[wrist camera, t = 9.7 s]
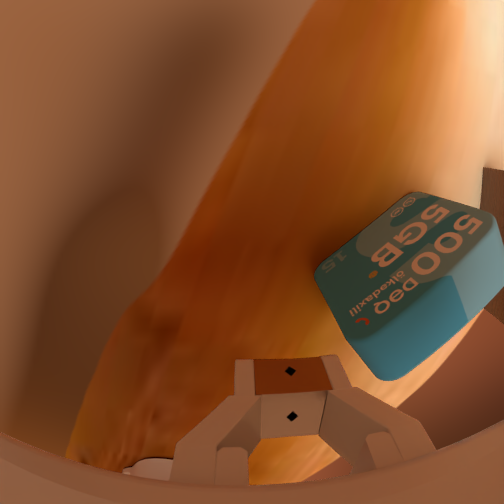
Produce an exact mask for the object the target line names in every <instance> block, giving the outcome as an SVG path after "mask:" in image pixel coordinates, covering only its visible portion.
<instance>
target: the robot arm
mask: <svg viewBox="0 0 504 504" xmlns="http://www.w3.org/2000/svg"><path fill="white" fill-rule="evenodd" d="M316 434H319V436H320V437H321V438H322V439H323V440H324V441H325V442H326V443H327V444H328V445H329V446H331V447H332V448H333V449H334V450H335V451H336V452H337V453H338V454H339V455H340V456H342V457H343V458H344V459H345V460H346V461H347V462H348V463H349V464H351V465H352V466H353V469H352V470H351V473H350V475H346V476H340V477H335V478H328V479H322V480H314V481H307V482H297V483H286V484H272V485H249V479H248V457H249V456H250V455H251V453H252V452H253V450H254V449H255V447H256V446H257V444H258V443H259V442H260V439H263V438H277V437H288V436H303V435H316ZM0 504H504V420H502V421H501V422H499V423H497V424H495V425H493V426H491V427H489V428H487V429H485V430H483V431H481V432H479V433H477V434H475V435H472V436H470V437H468V438H466V439H463V440H461V441H459V442H456V443H454V444H452V445H449V446H447V447H444V448H441V449H439V450H436V449H435V447H434V445H433V444H432V442H431V440H430V438H429V437H428V435H427V433H426V431H425V430H424V428H423V426H422V425H421V423H420V421H418V420H416V419H414V418H412V417H410V416H409V415H407V414H405V413H403V412H401V411H399V410H397V409H395V408H394V407H392V406H390V405H388V404H386V403H384V402H383V401H381V400H379V399H377V398H375V397H374V396H372V395H370V394H368V393H366V392H365V391H363V390H361V389H359V388H358V387H353V388H352V386H351V384H350V382H349V380H348V377H347V375H346V373H345V371H344V369H343V367H342V365H341V363H340V360H339V358H338V356H337V355H327V356H319V357H311V358H297V359H253V360H252V359H236V361H235V381H234V396H228V397H227V398H226V399H225V400H224V401H223V402H222V403H221V404H220V405H219V406H218V407H216V408H215V409H214V410H213V411H212V412H211V413H210V414H209V415H208V416H207V417H206V418H205V419H203V420H202V421H201V422H200V423H199V424H198V425H197V426H196V427H195V428H193V429H192V430H191V431H190V432H189V433H188V434H187V435H186V436H184V437H183V438H182V439H181V440H180V441H179V442H177V444H176V448H175V453H174V458H173V460H170V459H159V458H152V459H144V460H141V461H138V462H137V463H136V464H135V465H134V466H133V467H129V468H125V469H123V472H122V473H118V472H113V471H109V470H105V469H101V468H97V467H93V466H89V465H86V464H82V463H79V462H76V461H72V460H69V459H66V458H63V457H60V456H57V455H54V454H51V453H49V452H46V451H43V450H41V449H38V448H35V447H33V446H30V445H28V444H25V443H23V442H21V441H18V440H16V439H14V438H12V437H10V436H8V435H5V434H3V433H1V432H0Z"/></svg>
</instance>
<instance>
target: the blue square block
mask: <svg viewBox="0 0 504 504" xmlns="http://www.w3.org/2000/svg"><path fill="white" fill-rule="evenodd" d="M314 279H315V281H316V283H317V285H318V286H319V288H320V290H321V292H322V294H323V296H324V298H325V300H326V302H327V304H328V305H329V307H330V309H331V311H332V313H333V315H334V317H335V319H336V321H337V323H338V325H339V327H340V329H341V331H342V333H343V335H344V337H345V338H346V340H347V341H348V343H349V344H350V345H351V346H352V347H353V349H354V350H355V351H356V352H357V354H358V355H359V356H360V357H361V359H362V360H363V361H364V363H365V364H366V365H367V366H368V368H369V369H370V370H371V371H372V373H373V374H374V375H375V376H376V377H377V378H378V379H380V380H383V381H393V380H397V379H399V378H401V377H403V376H405V375H406V374H407V373H409V372H410V371H411V370H413V369H414V368H415V367H417V366H418V365H419V364H421V363H422V362H423V361H424V360H426V359H427V358H428V357H429V356H431V355H432V354H433V353H434V352H436V351H437V350H438V349H439V348H440V347H442V346H443V345H444V344H445V343H446V342H447V341H449V340H450V339H451V338H452V337H453V336H454V335H455V334H456V333H458V332H459V331H460V330H461V329H462V328H463V327H464V326H465V325H466V324H467V323H468V322H469V321H471V320H472V319H473V318H474V317H475V316H476V315H477V314H478V313H479V312H480V311H481V310H482V309H483V308H484V307H485V306H486V305H487V304H488V303H489V302H490V301H491V300H492V299H493V297H494V296H495V295H496V294H497V293H498V292H499V291H500V290H501V289H502V288H503V287H504V245H503V242H502V238H501V234H500V231H499V228H498V224H497V221H496V219H495V217H494V216H493V215H492V214H491V213H489V212H486V211H483V210H480V209H477V208H474V207H471V206H467V205H464V204H461V203H457V202H454V201H451V200H447V199H444V198H440V197H437V196H433V195H429V194H426V193H422V192H414V193H411V194H408V195H406V196H404V197H403V198H401V199H400V200H399V201H398V202H397V203H395V204H394V205H393V206H392V207H391V208H389V209H388V210H387V211H386V212H385V213H383V214H382V215H381V216H380V217H378V218H377V219H376V220H375V221H374V222H372V223H371V224H370V225H369V226H367V227H366V228H365V229H364V230H362V231H361V232H360V233H359V234H357V235H356V236H355V237H354V238H352V239H351V240H350V241H349V242H347V243H346V244H345V245H343V246H342V247H341V248H340V249H338V250H337V251H336V252H335V253H333V254H332V255H331V256H329V257H328V258H327V259H326V260H324V261H323V262H322V263H321V264H320V265H319V266H318V268H317V269H316V271H315V274H314Z"/></svg>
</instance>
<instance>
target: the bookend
mask: <svg viewBox="0 0 504 504" xmlns="http://www.w3.org/2000/svg"><path fill="white" fill-rule="evenodd" d="M480 210H483V211H486V212H489V213H491V214H492V215H493V216H494V217H495V219H496V221H497V224H498V228H499V231H500V234H501V238H502V242H503V245H504V171H503V170H497V169H491V168H484V167H483V182H482V195H481V206H480ZM484 309H486V310H487V311H488V312H489V313H491V314H492V315H493V316H495V317H496V318H497V319H498V320H499V321H500V322H502V323H503V324H504V287H503V288H502V289H501V290H500V291H499V292H498V293H497V294H496V295H495V296H494V297H493V299H492V300H491V301H490V302H489V303H488V304H487V305H486V306H485V307H484Z"/></svg>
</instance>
